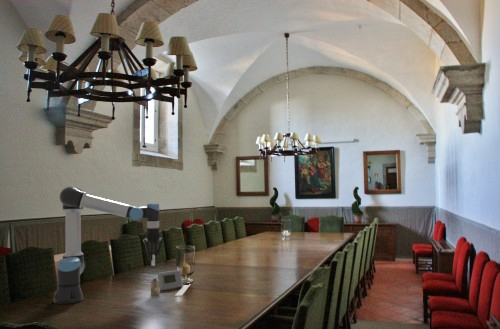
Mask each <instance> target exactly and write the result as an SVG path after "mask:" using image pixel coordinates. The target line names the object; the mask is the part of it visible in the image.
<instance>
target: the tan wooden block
mask: <svg viewBox="0 0 500 329" xmlns="http://www.w3.org/2000/svg"><path fill="white" fill-rule="evenodd" d="M159 294H160V287H159V280H158V279H157V278H153V279H152V280H151V281H150V296H158V295H159Z"/></svg>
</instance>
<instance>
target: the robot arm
mask: <svg viewBox="0 0 500 329" xmlns="http://www.w3.org/2000/svg"><path fill="white" fill-rule="evenodd" d="M59 201H60V203H61V204H62V211H63V212H65V217H64V218H65V219H64V220H65V222H64V223H65V226H64V227H65V253H63V255H62V258H61V259H59V260H58V262H57V289H56V291H55V295H54V296H53V303H54V304H56V303H57V305H58V304H59V305H66V304H67V305H68V304H74V303H78V302H81V301H83V300H84V294H83V292H82V289H81V274H82V273H83V272H84V270H85V268H86V263H85V262H86V261H85V260H84V259H85V254H84V253H83V252H82V238H81V237H82V228H81V227H82V218H81V217H82V216H81V215H82V213H81V212H83V210H84V208H86V209H89V210H94V211H99V212H102V213H107V214H111V215H115V216H119V217H123V218H126V219H129V220H133V221H139V220H142V219H146V222H147V224H146V227H147V229H146V238H144V239H142V242H143V243H144V247H145V251H146V254H147V255H149V261H151V262H150V264H151V265H150V266H152V267H155V266H156V260H157V256H158V255H160V251H161V248H162V243H163V241H164V238H162V237H161V235H160V228H159V227H160V204H159V203H155V202H154V203H147V204H146V206H134V205H129V204H126V203H122V202H118V201H114V200H111V199H107V198H106V199H105V198H102V197H100V196H94V195H91V194H87V191H83V190H82V189H81V188H79V187H75V186H67V187H65V188H63V189H62V190H61V191H60V194H59ZM148 242H149V244H148Z"/></svg>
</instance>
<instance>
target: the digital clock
mask: <svg viewBox="0 0 500 329" xmlns="http://www.w3.org/2000/svg"><path fill="white" fill-rule="evenodd" d="M157 278H158V279H157V280H159V291H168V290H175V289H179V288H182V287H183V285H184V284H183V280H182V279H183V278H182V273H181V270H180V269H176V270H175V269H174V270H169V271H168V270H167V271H162V272H158V273H157Z"/></svg>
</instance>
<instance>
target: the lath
mask: <svg viewBox="0 0 500 329" xmlns="http://www.w3.org/2000/svg"><path fill="white" fill-rule="evenodd" d="M191 285H192V284H189V285H184V284H183V286H182V287H180V289H179V290H178V291H177V292H176V294H175V295H174V297H182V296H184V294H185V293H186V291H188V289H189V287H191Z"/></svg>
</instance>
